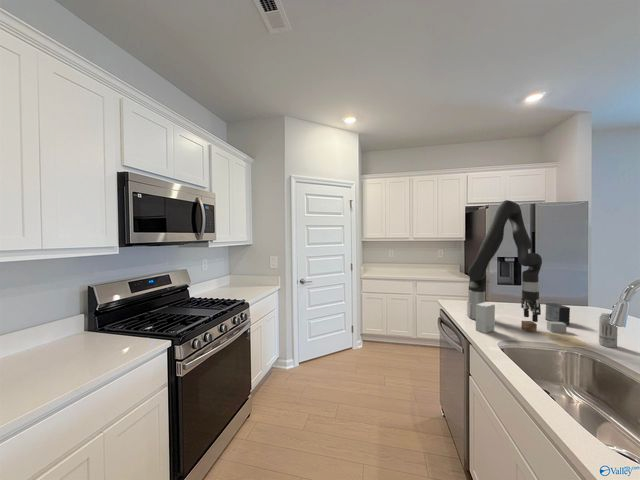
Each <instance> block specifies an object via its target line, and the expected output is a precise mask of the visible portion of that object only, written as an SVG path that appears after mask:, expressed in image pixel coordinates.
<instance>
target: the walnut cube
mask: <svg viewBox="0 0 640 480" xmlns="http://www.w3.org/2000/svg"><path fill="white" fill-rule="evenodd" d="M537 327H538V324H537V322H533V321H532V320H521V330H522V331H524V332H525V333H535V334H536V333H537V330H538V329H537Z"/></svg>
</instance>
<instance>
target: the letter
mask: <svg viewBox="0 0 640 480" xmlns="http://www.w3.org/2000/svg"><path fill="white" fill-rule="evenodd" d="M539 333H540V334H541V335H542V336H544V337H545V338H547V339H549V340H550V341H551V342H554V344H556V345H558V346H560V347H568V348H569V347H570V348H581V349H582V348H583V349H595V350H596V348H595V347H594V346H591V345H590V344H588V343H586V342H585V341H582V340H581V339H579V338H577V337H575V336H574V335H572V334H569V333H556V332H539Z"/></svg>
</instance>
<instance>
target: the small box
mask: <svg viewBox="0 0 640 480" xmlns="http://www.w3.org/2000/svg"><path fill="white" fill-rule="evenodd" d="M570 316H571V307H568V306H566V305H562V304H559V303H556V302H555V303H554V302H552V303H551V302H545V321H546V322H547V321H551V322H563V323H565V324H566V326H570V320H571V317H570Z"/></svg>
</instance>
